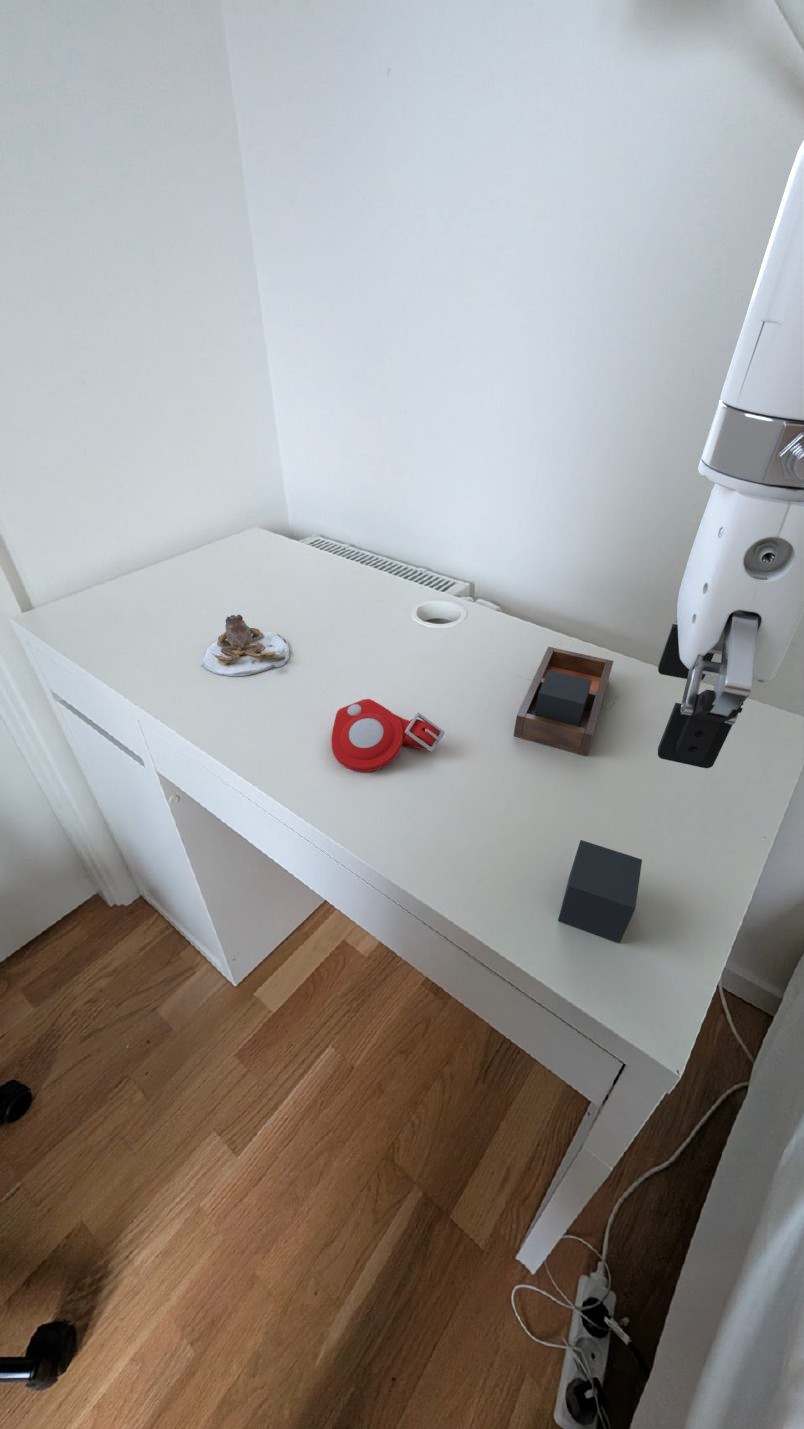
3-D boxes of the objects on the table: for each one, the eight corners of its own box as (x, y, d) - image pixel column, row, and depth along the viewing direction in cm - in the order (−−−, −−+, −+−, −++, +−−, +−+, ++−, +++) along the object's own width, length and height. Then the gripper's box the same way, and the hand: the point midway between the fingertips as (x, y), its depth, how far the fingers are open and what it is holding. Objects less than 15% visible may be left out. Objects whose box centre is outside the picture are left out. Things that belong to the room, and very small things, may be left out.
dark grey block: (627, 894, 50) (642, 859, 47) (619, 943, 47) (635, 908, 44) (569, 875, 52) (580, 839, 49) (557, 921, 48) (568, 885, 45)
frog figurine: (192, 643, 82) (186, 620, 80) (274, 624, 86) (270, 601, 84) (210, 686, 74) (204, 661, 72) (299, 662, 78) (296, 638, 76)
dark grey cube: (583, 713, 69) (592, 679, 66) (575, 739, 66) (584, 704, 62) (541, 703, 71) (548, 669, 68) (532, 727, 67) (538, 692, 64)
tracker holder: (343, 778, 60) (314, 707, 65) (351, 796, 63) (323, 727, 69) (449, 733, 61) (412, 666, 66) (451, 753, 65) (416, 689, 70)
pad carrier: (608, 680, 76) (613, 660, 74) (587, 756, 64) (592, 735, 62) (544, 665, 78) (548, 646, 76) (513, 736, 67) (516, 715, 65)
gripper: (936, 516, 22) (756, 820, 32) (834, 417, 34) (729, 659, 45) (719, 492, 23) (617, 787, 34) (698, 408, 36) (629, 642, 47)
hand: (681, 714), depth 40 cm, fingers open, 9 cm apart
